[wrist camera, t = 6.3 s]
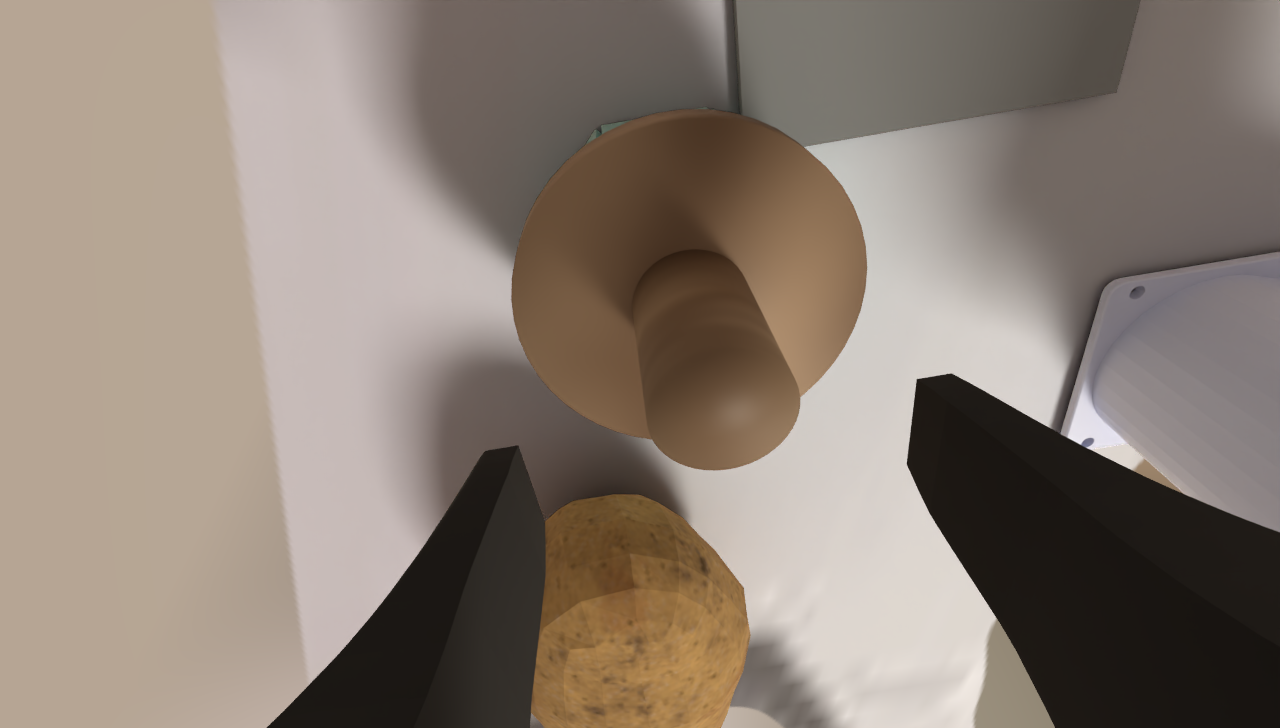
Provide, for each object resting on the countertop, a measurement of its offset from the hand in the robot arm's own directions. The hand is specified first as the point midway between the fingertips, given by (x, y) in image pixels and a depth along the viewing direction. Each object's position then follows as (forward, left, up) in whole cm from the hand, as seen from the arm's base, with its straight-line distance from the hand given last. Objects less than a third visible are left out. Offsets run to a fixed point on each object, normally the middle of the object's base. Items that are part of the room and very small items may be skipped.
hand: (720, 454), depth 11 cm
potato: (+4, +14, -11) cm, 18 cm away
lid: (0, 0, -6) cm, 6 cm away
